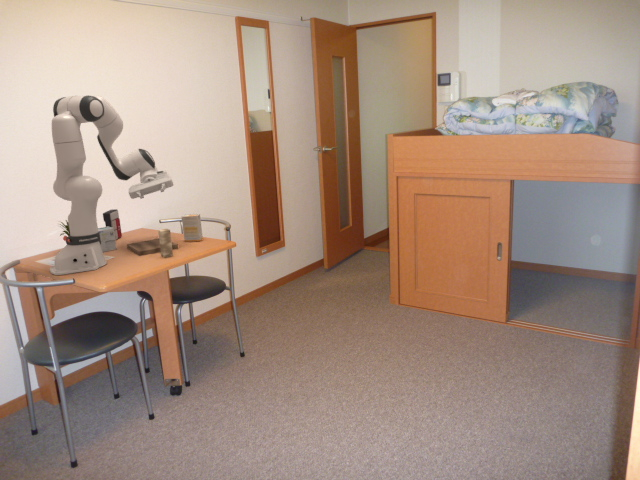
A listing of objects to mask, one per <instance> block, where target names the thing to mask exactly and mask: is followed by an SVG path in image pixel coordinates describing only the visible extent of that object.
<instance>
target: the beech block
mask: <svg viewBox="0 0 640 480" xmlns="http://www.w3.org/2000/svg"><path fill="white" fill-rule="evenodd" d="M157 232H158V238H159V241H160V249H161V252H160V257H162V258H164V259H165V258H170V257H174V253H173V252H174V249H173V250H172V242H173V241H172V234H171V229H169V228H164V229H158V230H157Z"/></svg>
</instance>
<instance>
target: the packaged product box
mask: <svg viewBox="0 0 640 480" xmlns="http://www.w3.org/2000/svg"><path fill="white" fill-rule="evenodd" d="M102 218H103V222H104V225H105V227H107V226H109V227H113V228H114V233H115V240H118V239H120V238H122V237H123V234H122V227H121V226H122V225H121V220H120V216H119V210H118V208H116V209H110V210H107V211H105V212H103V213H102Z"/></svg>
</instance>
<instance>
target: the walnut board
mask: <svg viewBox="0 0 640 480" xmlns="http://www.w3.org/2000/svg"><path fill="white" fill-rule="evenodd" d="M171 242H172V250H173V251H174V250H178V249H179V245H178V243H176V242H173V241H171ZM126 248H127V249H128V250H130V251H131V252H133V253H135V254H137V255H138V256H140V257H141V256H146V255H150V254H151V255H152V254H156V253H161V249H160V241H159V237H158V238H154V239H149V240H148V239H147V240H141V241H137V242H131V243H127V244H126Z"/></svg>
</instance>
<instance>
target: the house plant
mask: <svg viewBox="0 0 640 480" xmlns="http://www.w3.org/2000/svg"><path fill="white" fill-rule="evenodd" d="M58 222H59V223H58V226H60V228H61V229H64V230H62V233H60V235H59V237H60V236H61V237H62V236H65V235H66V236H67V237H68V236H69V235H70V229H69V223H68V219H65V222H66V224H65V223H63V222H62V221H61V220H58ZM60 223H61V224H60ZM64 234H65V235H64Z"/></svg>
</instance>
